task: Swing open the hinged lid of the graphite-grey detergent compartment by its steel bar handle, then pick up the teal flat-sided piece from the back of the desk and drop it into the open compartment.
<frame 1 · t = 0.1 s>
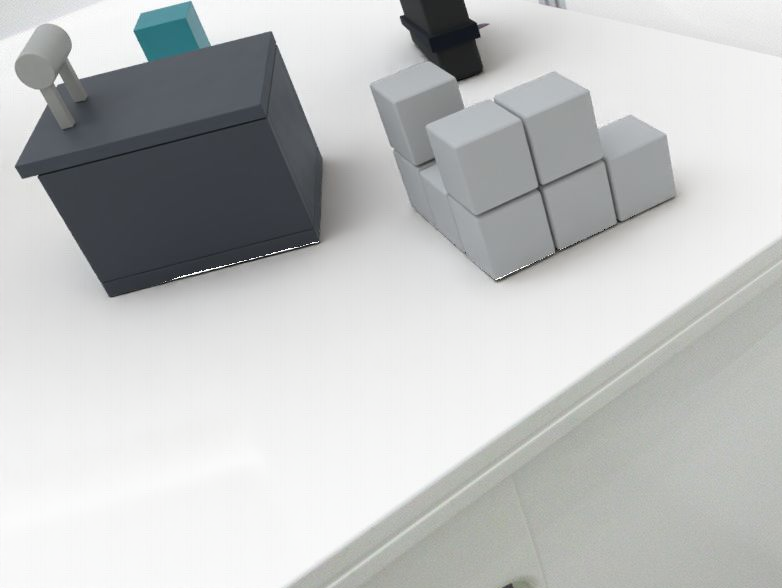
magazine: (444, 55, 85), on the table
puzzle cube: (540, 205, 65), on the table
compartment lid: (137, 63, 63), point 11 cm above the table, hinge at 0.0°
compartment: (223, 223, 70), on the table
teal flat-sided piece: (186, 66, 93), on the table
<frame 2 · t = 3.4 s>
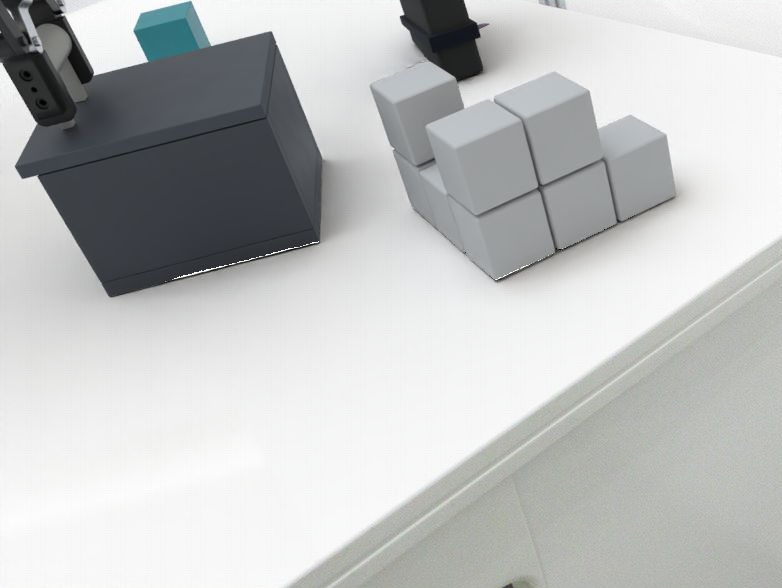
hand: (68, 100, 63), 10 cm above the table, tool pointing down, fingers closed on compartment lid, 5 cm apart
compartment lid: (137, 63, 63), point 11 cm above the table, hinge at 0.0°, touching gripper
everything else where it was.
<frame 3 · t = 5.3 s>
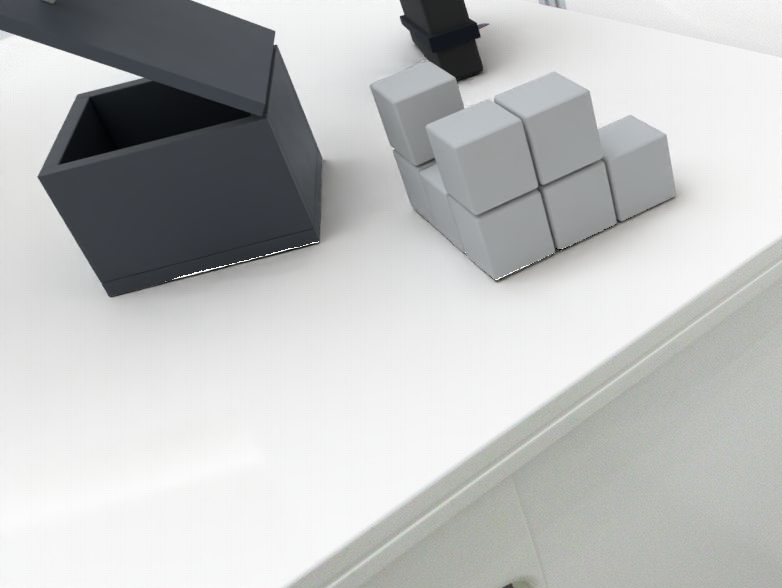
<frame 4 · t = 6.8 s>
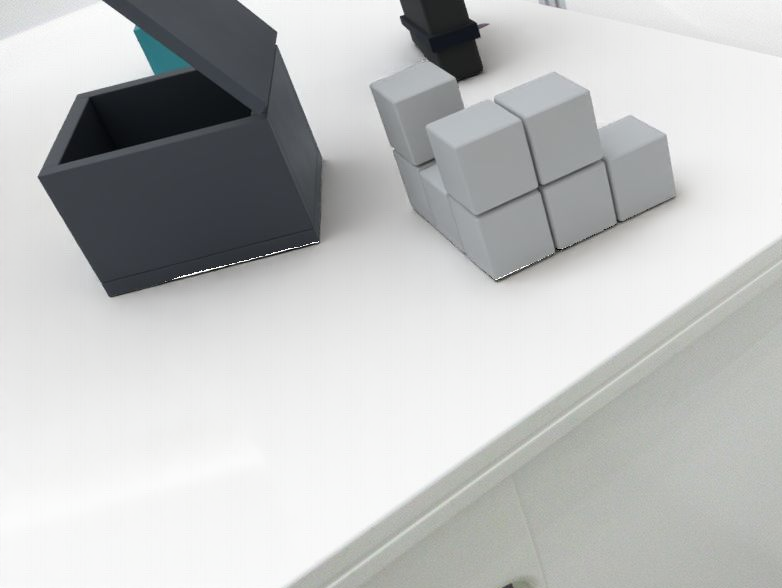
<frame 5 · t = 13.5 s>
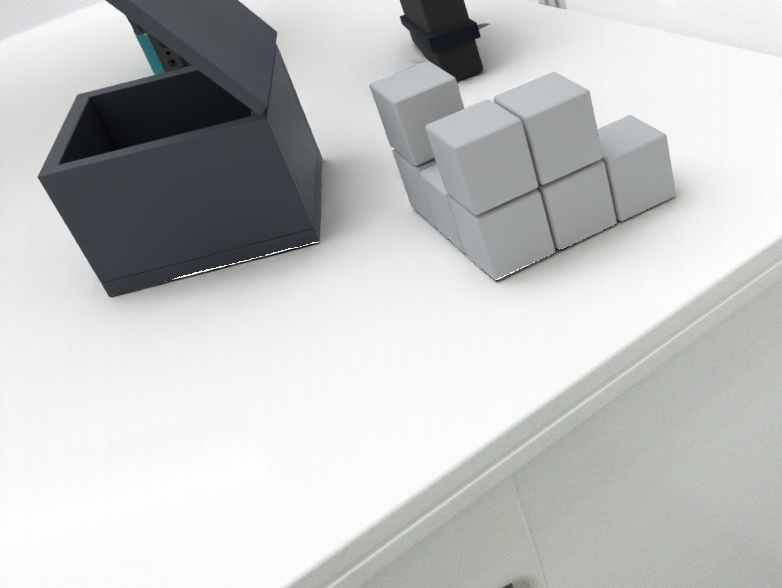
hand: (184, 63, 93), 0 cm above the table, tool pointing down, fingers closed on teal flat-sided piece, 4 cm apart
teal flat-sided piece: (186, 66, 93), on the table, touching gripper
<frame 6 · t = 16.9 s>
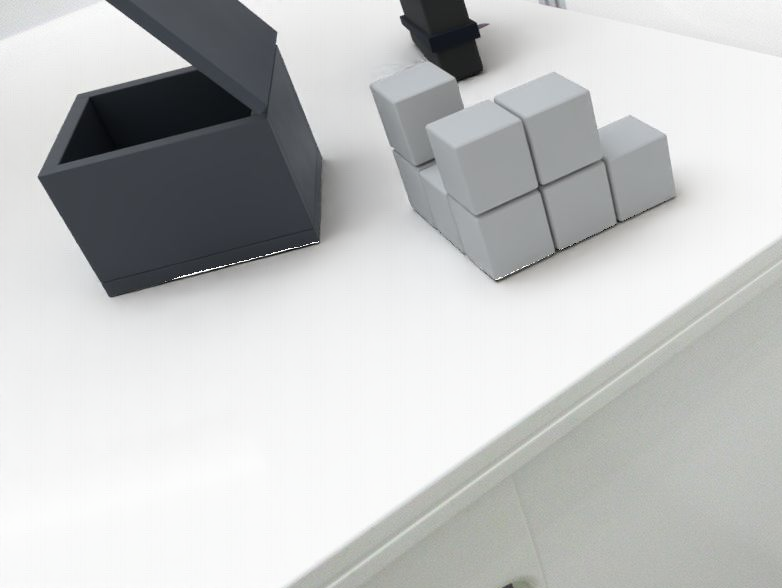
when the fingers open (19 cm above the table, at t = 20.4 s): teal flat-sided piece drops 14 cm and tips over, resting on compartment.
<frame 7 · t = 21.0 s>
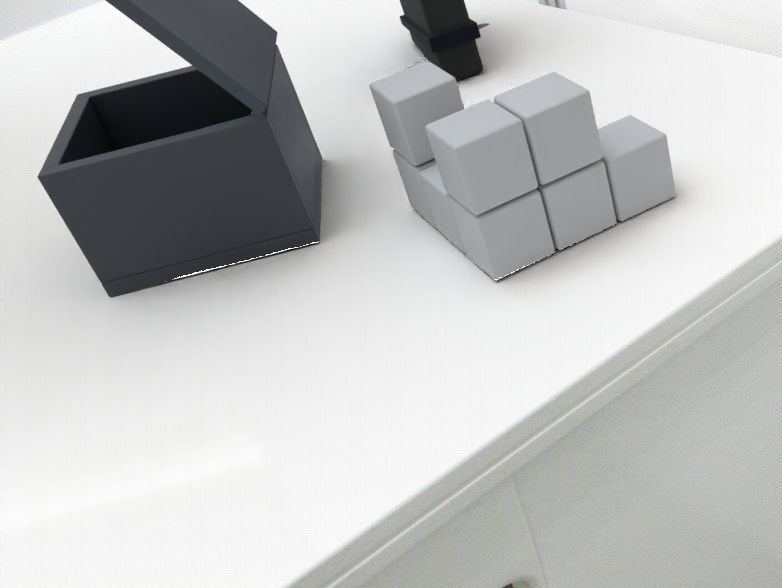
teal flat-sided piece: (236, 132, 66), point 5 cm above the table, tilted 180°, touching compartment
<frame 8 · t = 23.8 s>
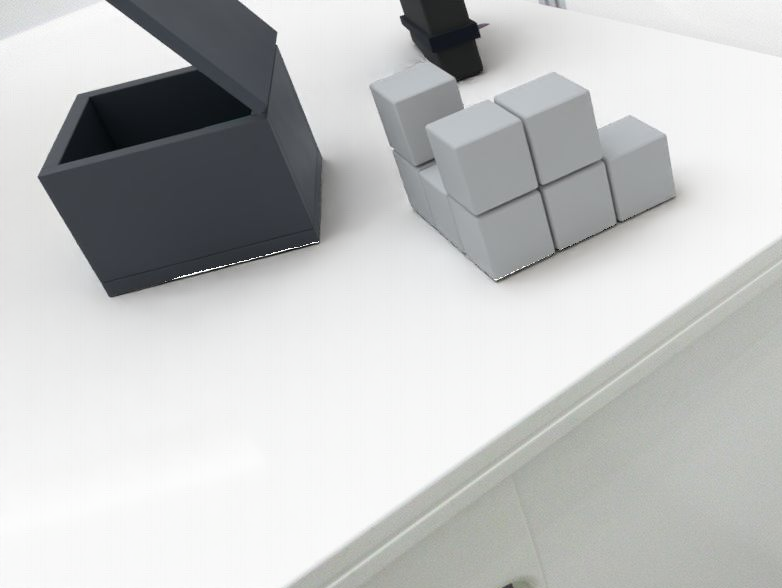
at the end: compartment lid at +57° (first picture: +0°); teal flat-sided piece inside the target area in the compartment (3.2 cm from its centre), point 5.4 cm above the compartment's base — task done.
